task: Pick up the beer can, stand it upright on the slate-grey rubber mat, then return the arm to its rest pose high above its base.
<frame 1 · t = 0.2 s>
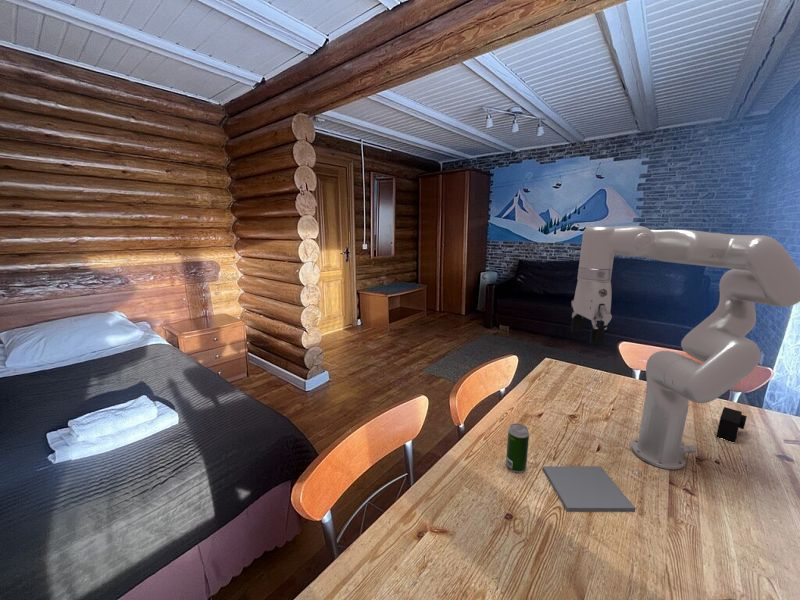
hand: (585, 337, 90), 36 cm above the table, tool pointing down, fingers open, 9 cm apart
digital camera: (729, 435, 107), on the table
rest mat: (584, 488, 85), on the table
beer can: (515, 467, 93), on the table
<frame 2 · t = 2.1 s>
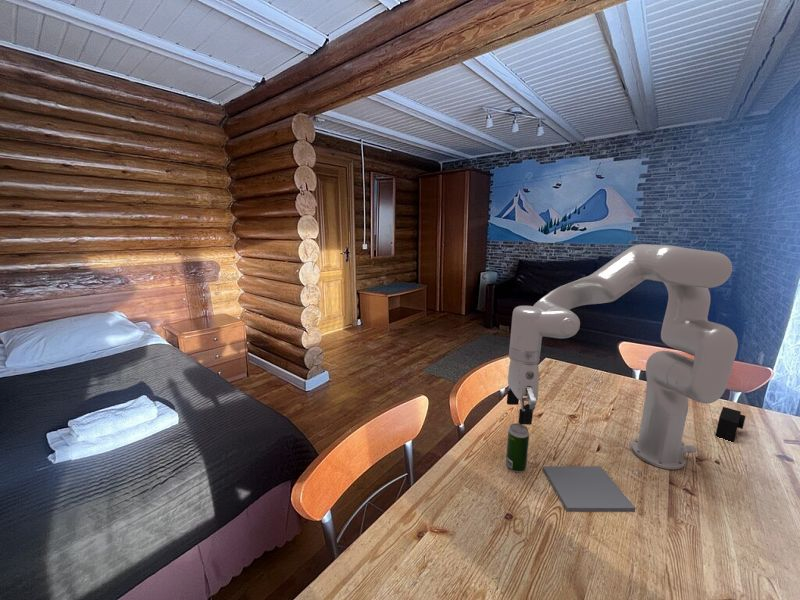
hand: (518, 413, 89), 17 cm above the table, tool pointing down, fingers open, 9 cm apart
nothing on the table moved.
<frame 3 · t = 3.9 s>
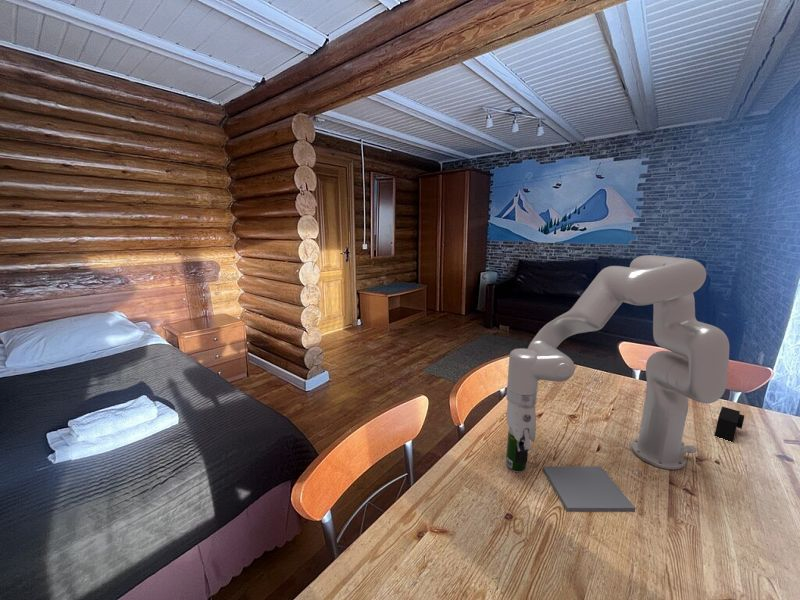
hand: (516, 454, 92), 4 cm above the table, tool pointing down, fingers closed on beer can, 5 cm apart
beer can: (515, 467, 93), on the table, touching gripper
everything else where it was.
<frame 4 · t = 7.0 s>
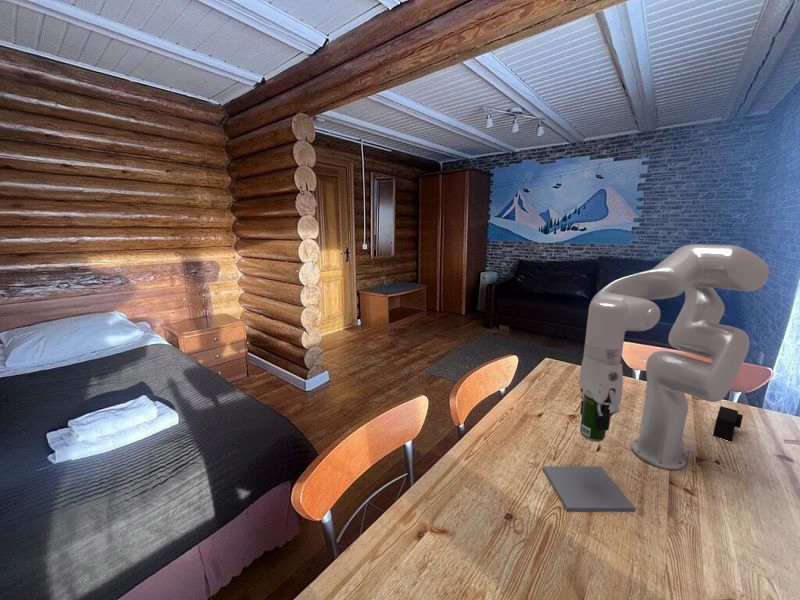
hand: (593, 421, 81), 19 cm above the table, tool pointing down, fingers closed on beer can, 5 cm apart
beer can: (591, 436, 82), point 15 cm above the table, touching gripper
everything else where it was.
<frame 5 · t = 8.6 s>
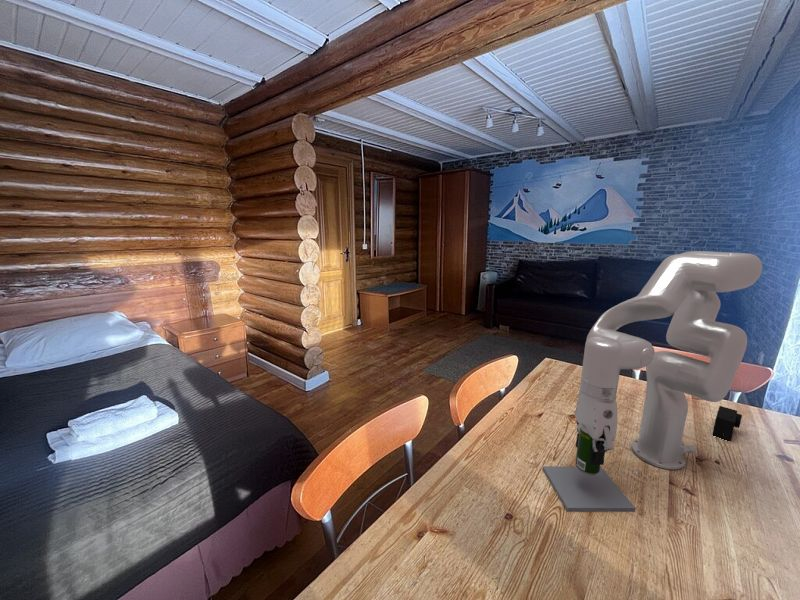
hand: (588, 454, 83), 10 cm above the table, tool pointing down, fingers closed on beer can, 5 cm apart
beer can: (586, 469, 83), point 6 cm above the table, touching gripper
everything else where it was.
when the fingers open (6 cm above the table, at t = 10.2 s): beer can drops 1 cm, resting on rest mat.
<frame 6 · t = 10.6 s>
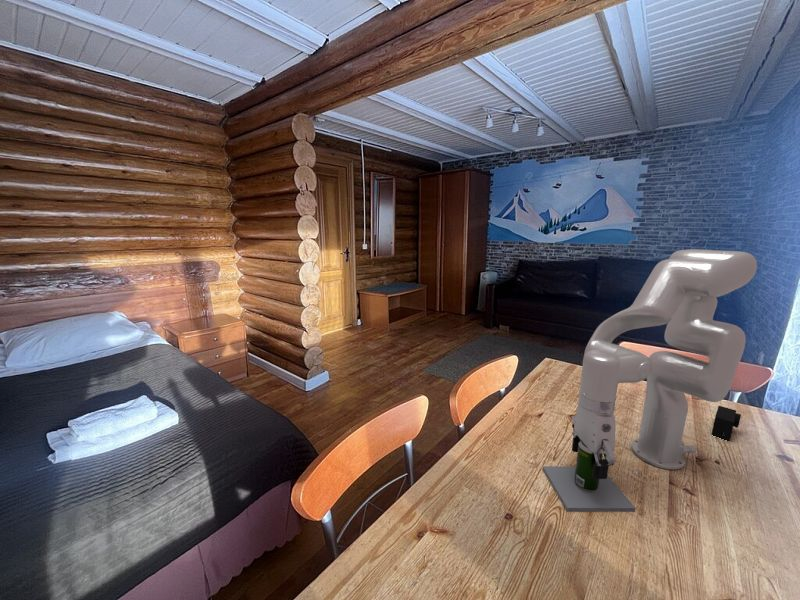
hand: (588, 464, 83), 7 cm above the table, tool pointing down, fingers open, 9 cm apart
beer can: (585, 485, 85), point 1 cm above the table, touching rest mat
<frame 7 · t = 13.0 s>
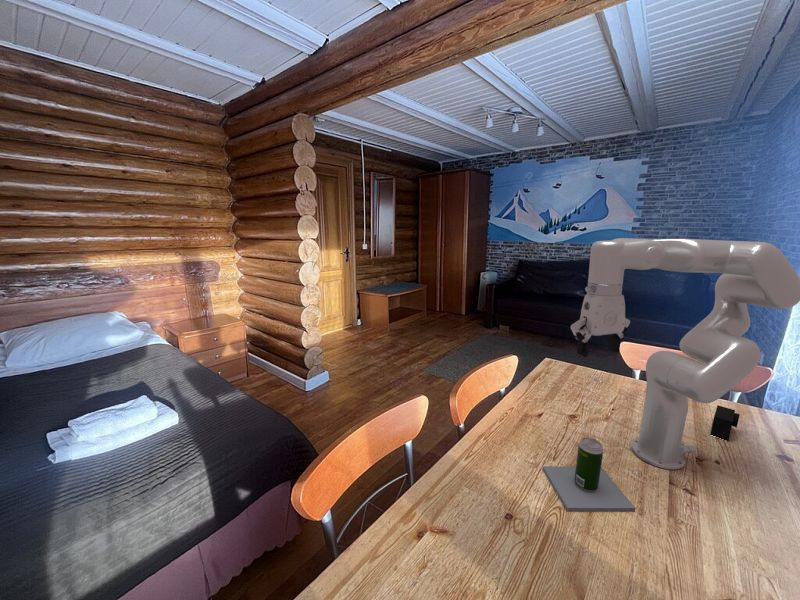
hand: (597, 353, 88), 33 cm above the table, tool pointing down, fingers open, 9 cm apart
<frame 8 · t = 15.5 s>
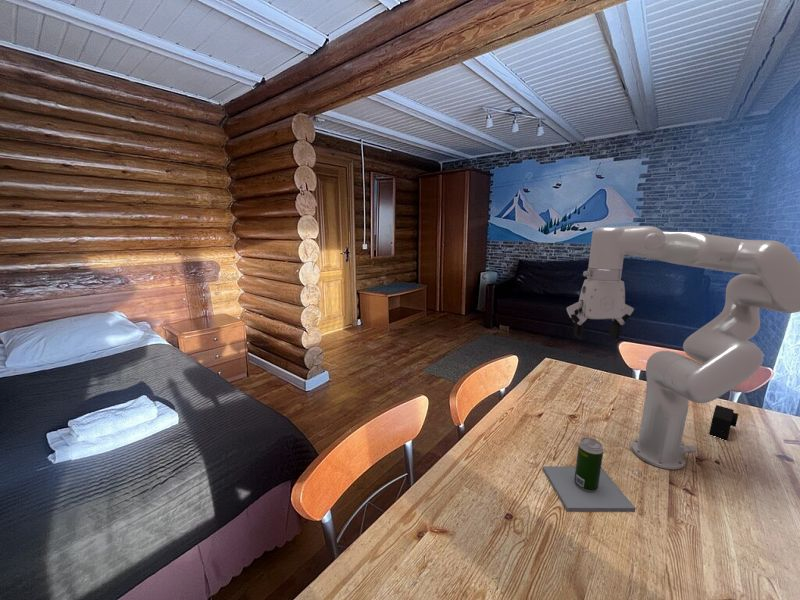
hand: (596, 337, 90), 36 cm above the table, tool pointing down, fingers open, 9 cm apart
at the end: beer can inside the target area on the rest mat (0.2 cm from its centre), point 0.8 cm above the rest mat's base; beer can tilted 0°; the gripper is holding nothing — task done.
